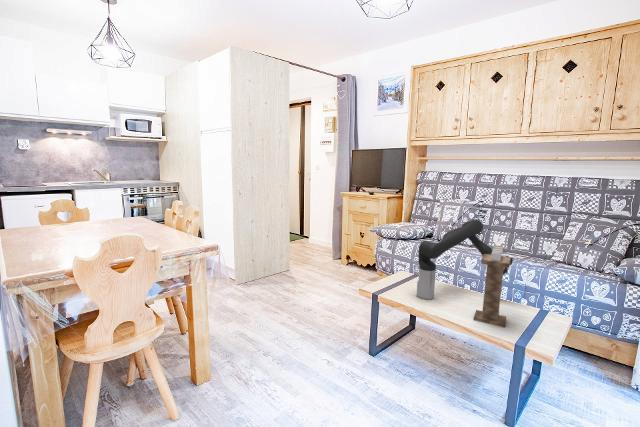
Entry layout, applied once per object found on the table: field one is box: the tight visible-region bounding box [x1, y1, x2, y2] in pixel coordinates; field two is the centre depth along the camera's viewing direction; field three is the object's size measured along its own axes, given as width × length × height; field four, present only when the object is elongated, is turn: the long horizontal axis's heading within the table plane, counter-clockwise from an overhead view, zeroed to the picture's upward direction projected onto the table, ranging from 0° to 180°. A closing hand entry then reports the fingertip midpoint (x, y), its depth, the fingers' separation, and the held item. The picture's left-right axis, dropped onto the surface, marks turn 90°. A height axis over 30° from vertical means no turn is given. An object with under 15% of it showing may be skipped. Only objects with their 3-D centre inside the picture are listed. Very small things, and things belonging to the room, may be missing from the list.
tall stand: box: [473, 254, 512, 328], centre depth 164 cm, size 14×13×32 cm
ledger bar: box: [491, 244, 504, 262], centre depth 165 cm, size 4×20×4 cm, turn 149°
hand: (498, 255), depth 182 cm, fingers open, 8 cm apart
